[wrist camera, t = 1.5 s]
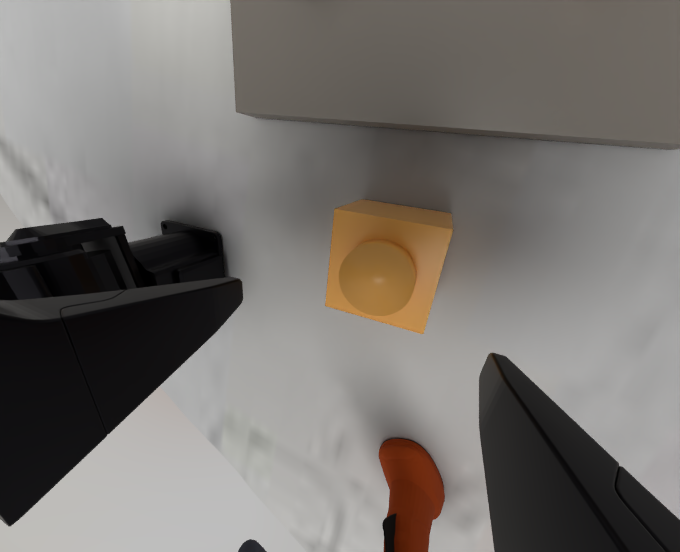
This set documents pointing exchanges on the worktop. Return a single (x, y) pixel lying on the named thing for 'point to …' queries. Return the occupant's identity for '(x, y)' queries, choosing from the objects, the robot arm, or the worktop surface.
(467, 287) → the worktop surface
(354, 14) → the grey peg board
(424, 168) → the worktop surface
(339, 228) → the orange knobbed cube
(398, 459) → the toy drill
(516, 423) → the robot arm
